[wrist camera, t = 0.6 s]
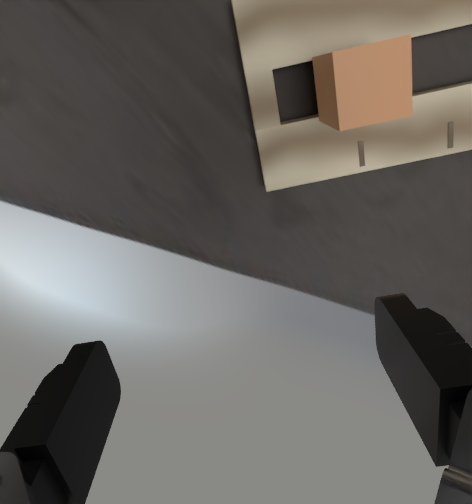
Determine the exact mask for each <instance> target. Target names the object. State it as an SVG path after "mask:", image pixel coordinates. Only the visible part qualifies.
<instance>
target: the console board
mask: <svg viewBox="0 0 472 504" xmlns="http://www.w3.org/2000/svg"><path fill="white" fill-rule="evenodd" d="M231 4H232V10H233V15H234V21H235V26H236V31H237V37H238V42H239V48H240V53H241V59H242V64H243V70H244V75H245V81H246V86H247V92H248V97H249V103H250V108H251V114H252V119H253V125H254V130H255V135H256V141H257V146H258V152H259V157H260V163H261V168H262V174H263V179H264V185H265V188H266V192H268V191H273V190H278V189H283V188H288V187H292V186H297V185H302V184H307V183H312V182H317V181H321V180H326V179H331V178H336V177H341V176H346V175H351V174H355V173H360V172H365V171H370V170H375V169H380V168H384V167H389V166H394V165H399V164H404V163H409V162H414V161H418V160H423V159H428V158H433V157H438V156H443V155H447V154H452V153H457V152H462V151H467V150H472V80H470V81H465V82H461V83H456V84H452V85H447V86H442V87H438V88H433V89H429V90H424V91H420V92H415V93H412V101H413V116H409V117H404V118H400V119H395V120H390V121H386V122H381V123H376V124H372V125H367V126H362V127H358V128H353V129H349V130H344V131H338V130H336V129H334V128H332V127H330V126H328V125H326V124H324V123H322V122H320V121H319V114H315V115H310V116H306V117H301V118H297V119H292V120H287V121H283V122H280V117H279V111H278V105H277V98H276V92H275V85H274V79H273V72H272V70H273V69H277V68H282V67H286V66H290V65H295V64H299V63H303V62H308V61H312V57H315V56H319V55H323V54H327V53H331V52H335V51H339V50H344V49H348V48H352V47H357V46H361V45H365V44H370V43H374V42H378V41H383V40H387V39H391V38H396V37H400V36H404V35H409V34H411V38H412V37H417V36H421V35H425V34H430V33H434V32H438V31H443V30H447V29H451V28H456V27H460V26H464V25H469V24H472V0H231Z"/></svg>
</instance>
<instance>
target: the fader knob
mask: <svg viewBox="0 0 472 504" xmlns="http://www.w3.org/2000/svg"><path fill="white" fill-rule="evenodd" d="M312 61H313V70H314V78H315V87H316V96H317V104H318V113H319V121H320V122H322V123H324V124H326V125H328V126H330V127H332V128H334V129H336V130H338V131H344V130H349V129H353V128H358V127H362V126H367V125H372V124H376V123H381V122H386V121H390V120H395V119H400V118H404V117H409V116H413V101H412V55H411V34H409V35H404V36H400V37H396V38H391V39H387V40H383V41H378V42H374V43H370V44H365V45H361V46H357V47H352V48H348V49H344V50H339V51H335V52H331V53H327V54H323V55H319V56H315V57H312Z"/></svg>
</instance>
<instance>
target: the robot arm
mask: <svg viewBox="0 0 472 504" xmlns="http://www.w3.org/2000/svg"><path fill="white" fill-rule="evenodd" d="M375 326H376V327H375V328H376V345H377V350H378V354H379V358H380V360H381V363H382V365H383V367H384V369H385V370H386V372H387V374H388V376H389V378H390V380H391V382H392V384H393V386H394V387H395V389H396V391H397V393H398V395H399V397H400V399H401V401H402V403H403V404H404V407H405V408H406V410H407V412H408V414H409V416H410V418H411V420H412V422H413V424H414V426H415V427H416V429H417V431H418V433H419V435H420V437H421V439H422V441H423V443H424V445H425V446H426V448H427V450H428V452H429V454H430V456H431V457H432V460H433V462H434V463H435V465H436V466H445V465H449V467H448V469H447V468H445V470H444V472H443V475H442V478H441V481H440V485H439V489H438V493H437V496H436V500H435V504H472V348H471V347H470V346H469V344H468V343H465V340H464V339H463V338H462V337H461V335H460V334H459V333H458V332H457V333H456V330H455V329H454V328H453V326H452V325H451V324H450V323H449V322H448V321H447V320H446V318H445V317H443V316H441V315H439V314H438V313H436V312H434V311H432V310H430V309H429V308H422V309H417V308H416V307H415V306H414V305H413V303H412V302H411V301H410V300H409V298H408V297H407V296H406V295H405V294H404V293H401V294H395V295H388V296H382V297H376V299H375ZM120 389H121V388H120V382H119V378H118V376H117V373H116V371H115V369H114V366H113V363H112V361H111V358H110V356H109V353H108V351H107V348H106V346H105V344H104V343H103V342H102V341H94V342H88V343H81V344H76V345H74V346H73V347H72V349H71V350H70V352H69V354H68V355H67V357H66V359H65V361H64V362H63V364H58V365H57V366H56V367H55V368H54V369H53V370H52V371H51V372H50V373H49V374H48V375H47V376H45V377H44V379H43V380H42V382H41V384H40V385H39V387H38V388H37V390H36V392H35V395H34V396H33V397H32V398H31V400H30V401H29V403H28V407H27V408H25V409H24V411H23V413H22V415H21V416H20V418H19V419H18V421H17V422H16V424H15V426H14V427H13V429H12V431H11V432H10V434H9V436H8V437H7V439H6V441H5V442H4V444H3V445H2V447H1V449H0V504H85V502H86V498H87V496H88V493H89V490H90V487H91V484H92V481H93V478H94V475H95V472H96V469H97V466H98V463H99V461H100V457H101V455H102V452H103V449H104V446H105V443H106V440H107V437H108V434H109V431H110V428H111V425H112V422H113V419H114V416H115V413H116V410H117V407H118V404H119V401H120V395H121V390H120Z"/></svg>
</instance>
